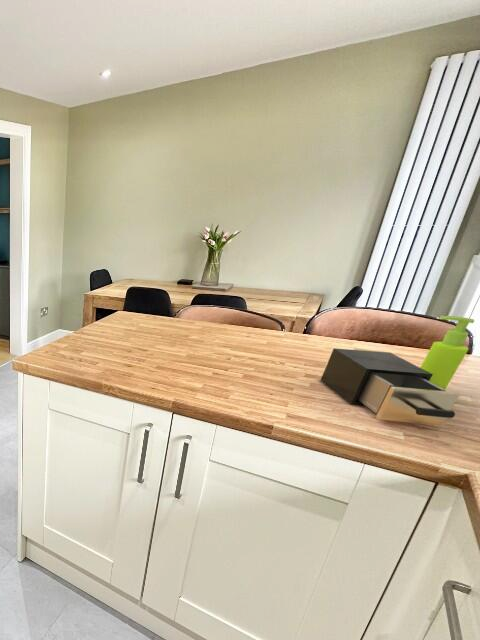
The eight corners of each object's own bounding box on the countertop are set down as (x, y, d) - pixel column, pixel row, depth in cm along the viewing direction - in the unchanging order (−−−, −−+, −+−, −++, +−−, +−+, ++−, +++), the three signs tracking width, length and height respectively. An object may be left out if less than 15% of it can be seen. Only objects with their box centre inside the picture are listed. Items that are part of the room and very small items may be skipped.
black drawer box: (413, 410, 95) (433, 374, 91) (350, 404, 98) (367, 368, 94) (374, 385, 108) (390, 352, 104) (320, 380, 111) (333, 348, 107)
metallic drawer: (460, 438, 83) (480, 405, 79) (393, 430, 85) (410, 398, 82) (399, 398, 99) (413, 370, 96) (344, 393, 102) (357, 365, 98)
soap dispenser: (403, 384, 109) (440, 312, 100) (440, 392, 104) (483, 318, 96) (403, 391, 105) (442, 317, 96) (442, 399, 100) (486, 323, 92)
